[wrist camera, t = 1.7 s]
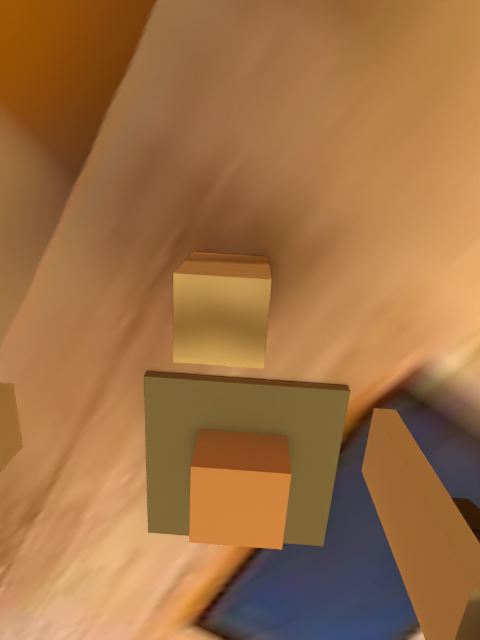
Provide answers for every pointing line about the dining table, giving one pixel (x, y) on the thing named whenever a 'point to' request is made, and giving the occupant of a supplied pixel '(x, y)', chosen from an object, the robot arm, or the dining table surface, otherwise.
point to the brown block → (221, 309)
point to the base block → (239, 489)
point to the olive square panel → (242, 416)
